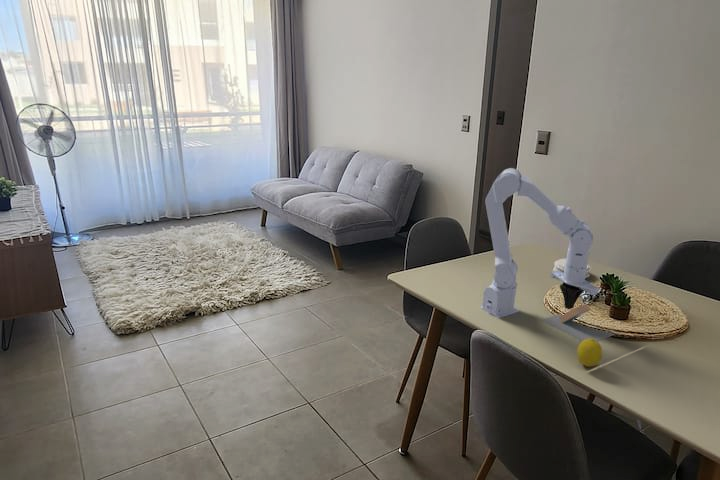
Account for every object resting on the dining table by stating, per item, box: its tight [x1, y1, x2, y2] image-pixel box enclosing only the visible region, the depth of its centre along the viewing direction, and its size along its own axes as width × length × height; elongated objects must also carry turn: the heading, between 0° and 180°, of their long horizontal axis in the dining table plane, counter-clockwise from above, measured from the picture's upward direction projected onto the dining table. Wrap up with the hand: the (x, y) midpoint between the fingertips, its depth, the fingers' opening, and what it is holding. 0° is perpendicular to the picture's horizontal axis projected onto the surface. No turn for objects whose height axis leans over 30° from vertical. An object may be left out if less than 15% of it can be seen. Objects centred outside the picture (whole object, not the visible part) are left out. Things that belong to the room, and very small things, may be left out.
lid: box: [552, 258, 591, 279], centre depth 173 cm, size 13×13×5 cm
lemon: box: [576, 338, 603, 367], centre depth 115 cm, size 6×6×8 cm
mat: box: [541, 313, 616, 343], centre depth 135 cm, size 12×16×1 cm
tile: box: [559, 303, 591, 323], centre depth 136 cm, size 6×2×6 cm
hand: (569, 307), depth 138 cm, fingers closed
